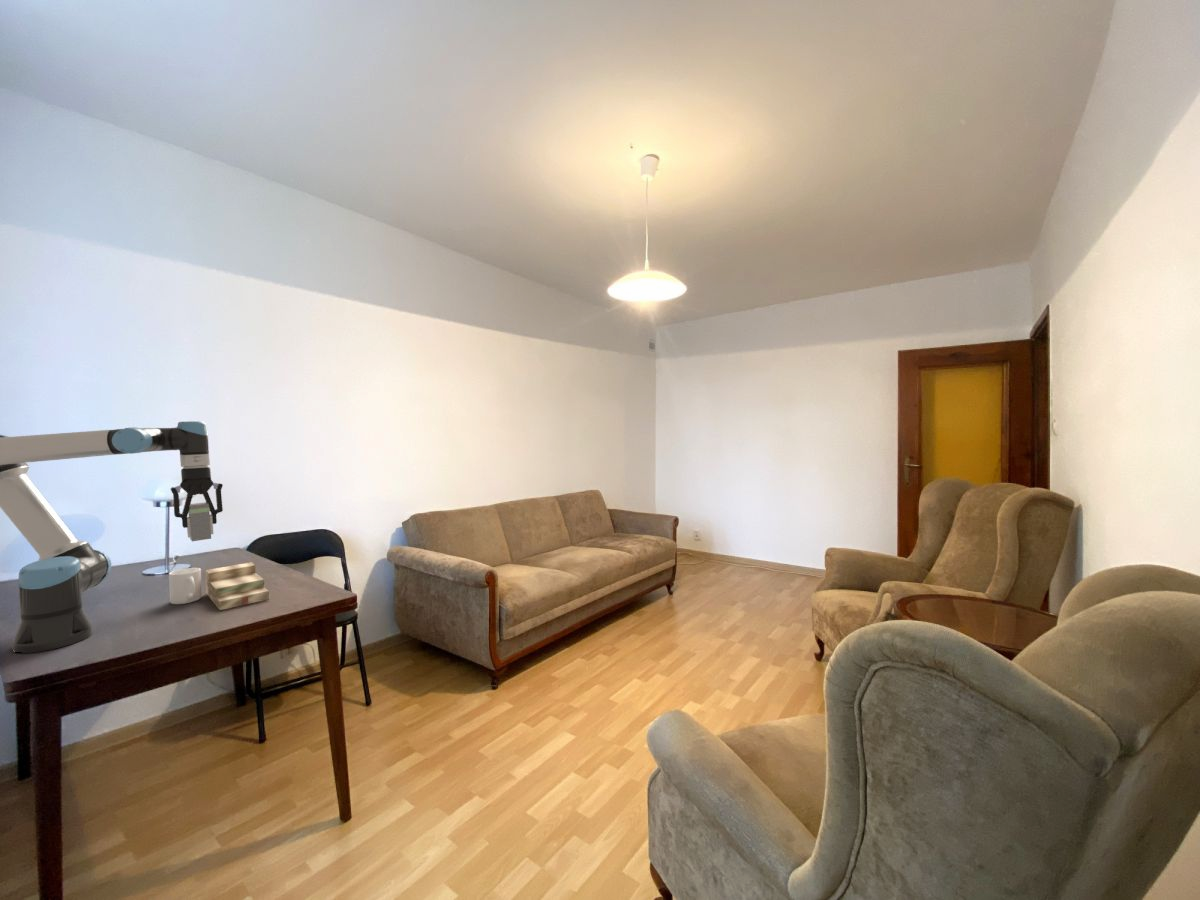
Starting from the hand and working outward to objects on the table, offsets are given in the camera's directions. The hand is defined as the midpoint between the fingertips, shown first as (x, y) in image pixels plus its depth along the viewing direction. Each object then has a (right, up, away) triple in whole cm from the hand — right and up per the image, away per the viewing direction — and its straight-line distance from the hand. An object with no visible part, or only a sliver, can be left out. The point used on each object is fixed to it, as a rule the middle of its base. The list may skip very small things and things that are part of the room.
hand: (200, 535), depth 161 cm
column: (0, -1, 0) cm, 1 cm away
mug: (-11, -25, +8) cm, 29 cm away
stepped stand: (+3, -25, +13) cm, 28 cm away
